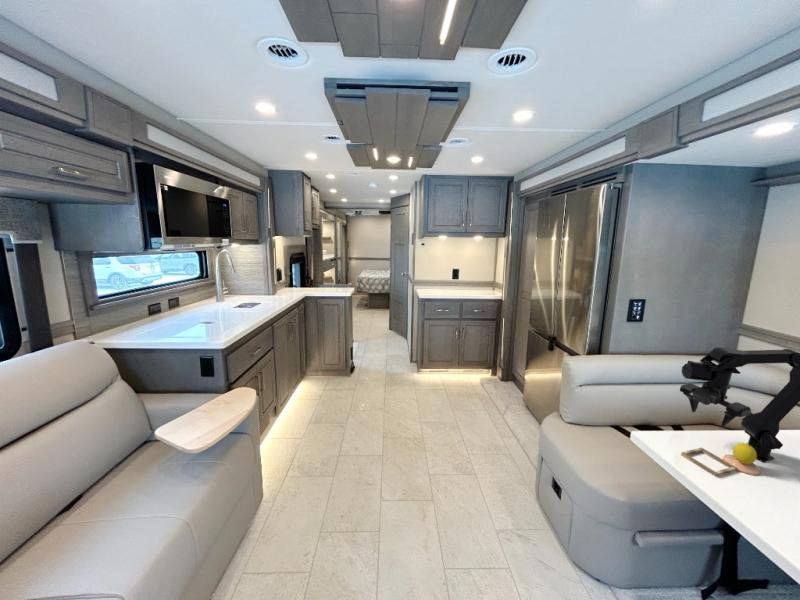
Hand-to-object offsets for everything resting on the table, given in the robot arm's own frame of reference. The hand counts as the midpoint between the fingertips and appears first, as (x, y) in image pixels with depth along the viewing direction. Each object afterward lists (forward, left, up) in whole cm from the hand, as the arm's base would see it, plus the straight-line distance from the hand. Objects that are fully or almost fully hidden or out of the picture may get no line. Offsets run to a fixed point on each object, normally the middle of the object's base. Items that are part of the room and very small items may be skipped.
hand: (707, 418), depth 116 cm
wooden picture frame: (+8, +7, -12) cm, 16 cm away
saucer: (-2, +11, -12) cm, 16 cm away
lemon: (-2, +11, -11) cm, 16 cm away
